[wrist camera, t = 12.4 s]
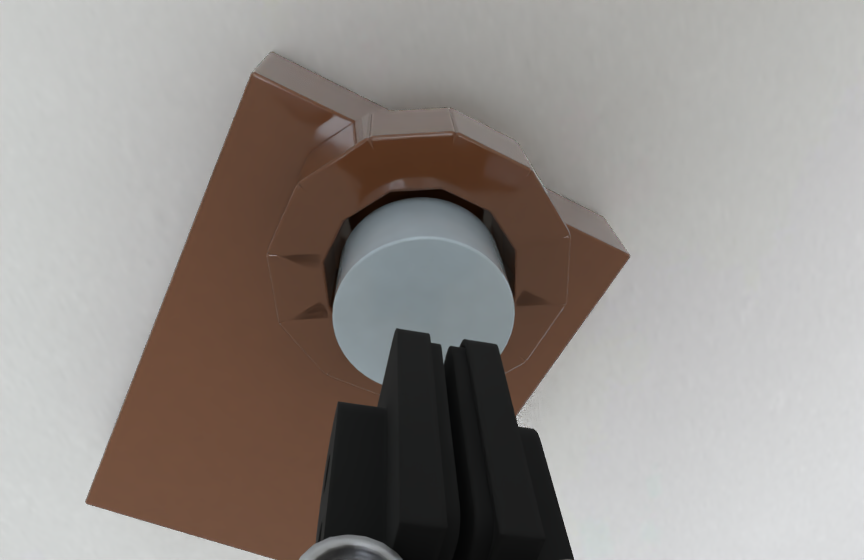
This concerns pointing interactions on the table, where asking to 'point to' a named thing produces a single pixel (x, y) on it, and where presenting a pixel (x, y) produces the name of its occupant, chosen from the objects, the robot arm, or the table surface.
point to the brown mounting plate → (318, 302)
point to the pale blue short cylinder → (419, 282)
